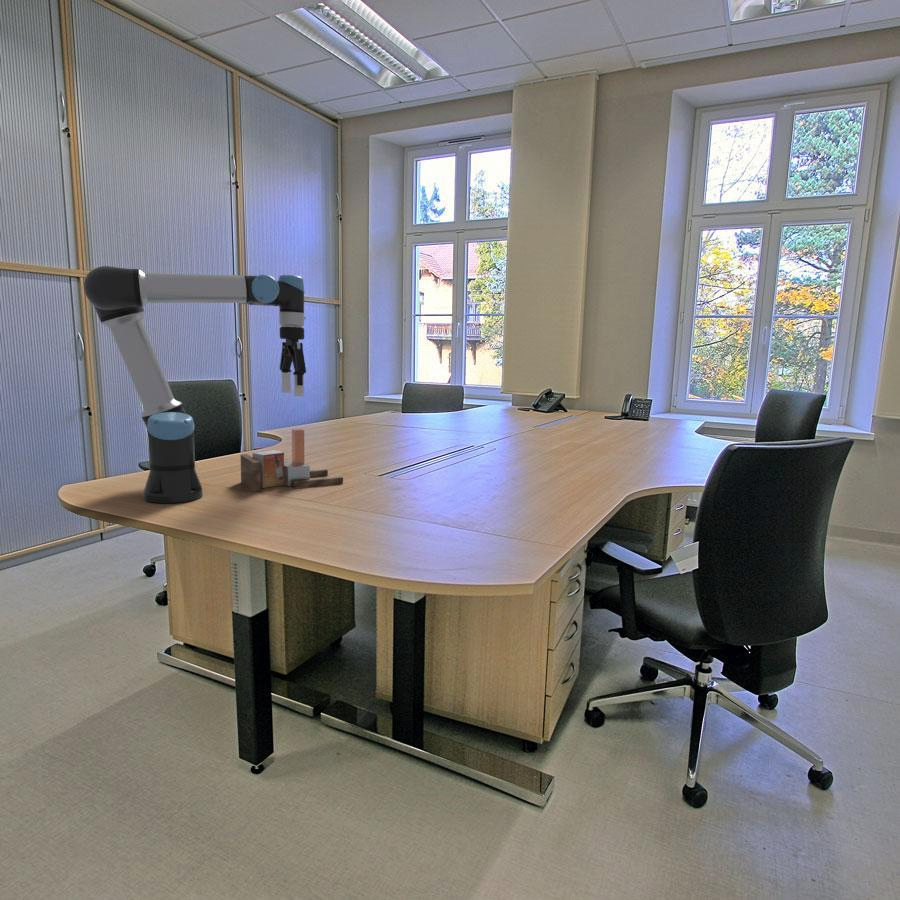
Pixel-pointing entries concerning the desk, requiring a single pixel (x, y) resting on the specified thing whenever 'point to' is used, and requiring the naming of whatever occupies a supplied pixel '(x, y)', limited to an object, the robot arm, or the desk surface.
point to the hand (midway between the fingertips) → (292, 394)
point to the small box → (271, 468)
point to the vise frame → (253, 481)
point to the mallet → (296, 460)
